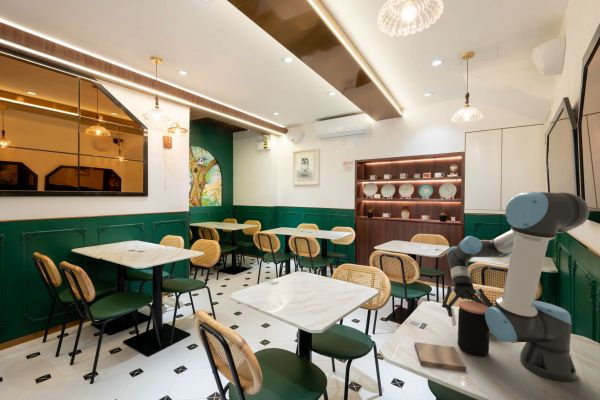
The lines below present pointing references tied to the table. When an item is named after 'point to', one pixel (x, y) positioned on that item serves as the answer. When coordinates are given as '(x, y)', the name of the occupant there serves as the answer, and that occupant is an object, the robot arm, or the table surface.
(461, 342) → the coffee jar
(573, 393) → the table surface
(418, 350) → the walnut board
